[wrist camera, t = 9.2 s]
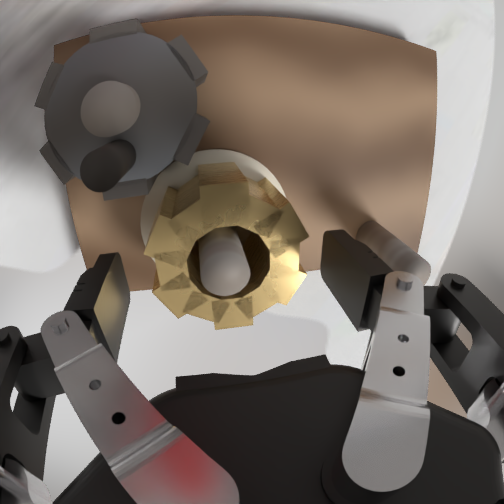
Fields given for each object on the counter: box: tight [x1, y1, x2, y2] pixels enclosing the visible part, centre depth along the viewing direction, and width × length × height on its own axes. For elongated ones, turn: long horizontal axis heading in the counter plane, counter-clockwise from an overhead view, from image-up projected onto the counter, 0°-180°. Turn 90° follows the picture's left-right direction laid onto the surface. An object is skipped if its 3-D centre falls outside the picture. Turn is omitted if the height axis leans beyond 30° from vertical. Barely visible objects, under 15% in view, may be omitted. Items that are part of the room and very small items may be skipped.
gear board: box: [35, 15, 437, 296], centre depth 12 cm, size 14×21×8 cm
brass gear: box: [144, 162, 310, 330], centre depth 13 cm, size 6×6×4 cm
